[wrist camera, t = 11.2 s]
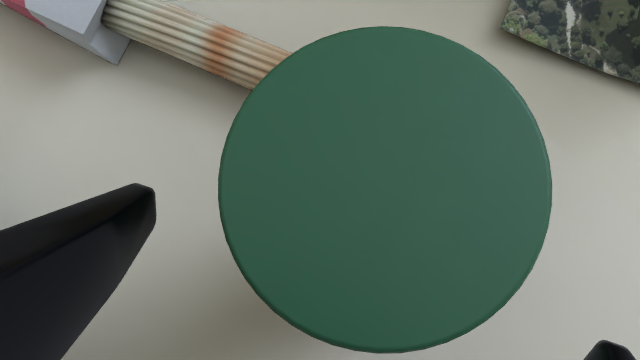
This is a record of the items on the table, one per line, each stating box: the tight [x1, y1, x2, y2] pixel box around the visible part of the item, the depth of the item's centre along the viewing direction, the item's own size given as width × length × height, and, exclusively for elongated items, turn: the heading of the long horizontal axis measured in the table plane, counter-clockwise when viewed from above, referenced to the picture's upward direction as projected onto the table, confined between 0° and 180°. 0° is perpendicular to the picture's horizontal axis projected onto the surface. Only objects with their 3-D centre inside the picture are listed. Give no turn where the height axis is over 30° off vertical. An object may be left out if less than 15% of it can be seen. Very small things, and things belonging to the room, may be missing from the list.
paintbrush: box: [0, 0, 292, 90], centre depth 20 cm, size 4×3×20 cm
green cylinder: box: [218, 26, 552, 353], centre depth 12 cm, size 4×4×13 cm
